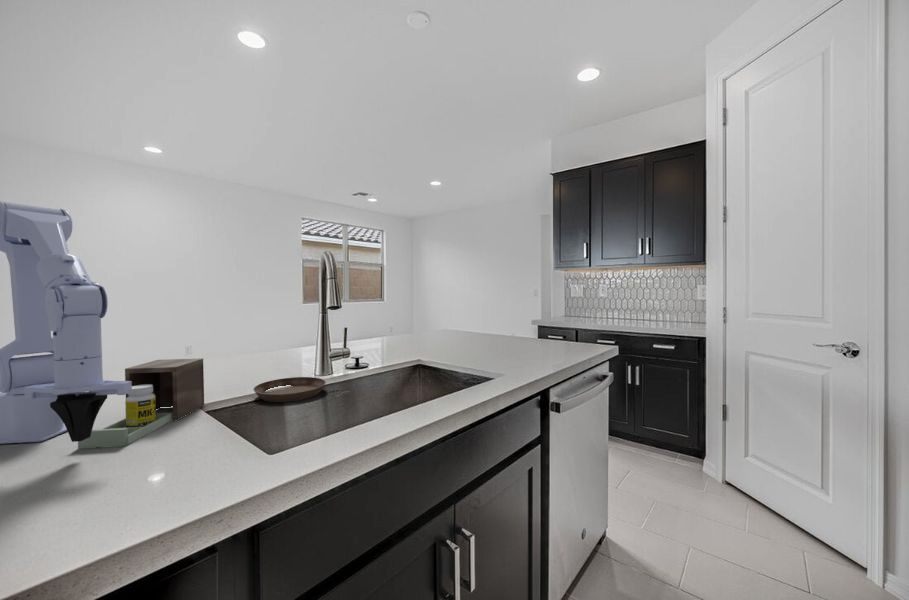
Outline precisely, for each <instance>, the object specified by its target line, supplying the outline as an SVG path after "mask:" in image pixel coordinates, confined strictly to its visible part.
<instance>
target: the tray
mask: <svg viewBox="0 0 909 600" xmlns="http://www.w3.org/2000/svg"><path fill="white" fill-rule="evenodd" d="M172 419H173V420H174V416H173V412H156V421H154V422H152V423H150V424H148V425H146V426H144V427H128V428H126V417H124V418H123V419H121V420H118V421H117V422H115V423H112V424H110V425H108V426H105V427H103V428H100V429H98V428H97V429H92V432H91V436H90V437H89V438H87V439H85V440H83V441H78V442H77V449H78V450H79V449H80V450H82V449H97V448H96V447H102V448H116V447H117V448H118V447H127V445H128V446H129V445H131V444H132V443H133V442H136V441H137V440H140V439H141V438H143V437H144V436H147V435H148V434H150V433H152V432H154V431H155V430H158V429H159V428H162V427H163V426H164V424H165V425H167V424H168V423H170V422H172V421H173V420H172ZM171 420H172V421H171ZM169 421H170V422H169ZM167 422H168V423H167ZM166 423H167V424H166ZM162 425H163V426H162Z"/></svg>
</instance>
